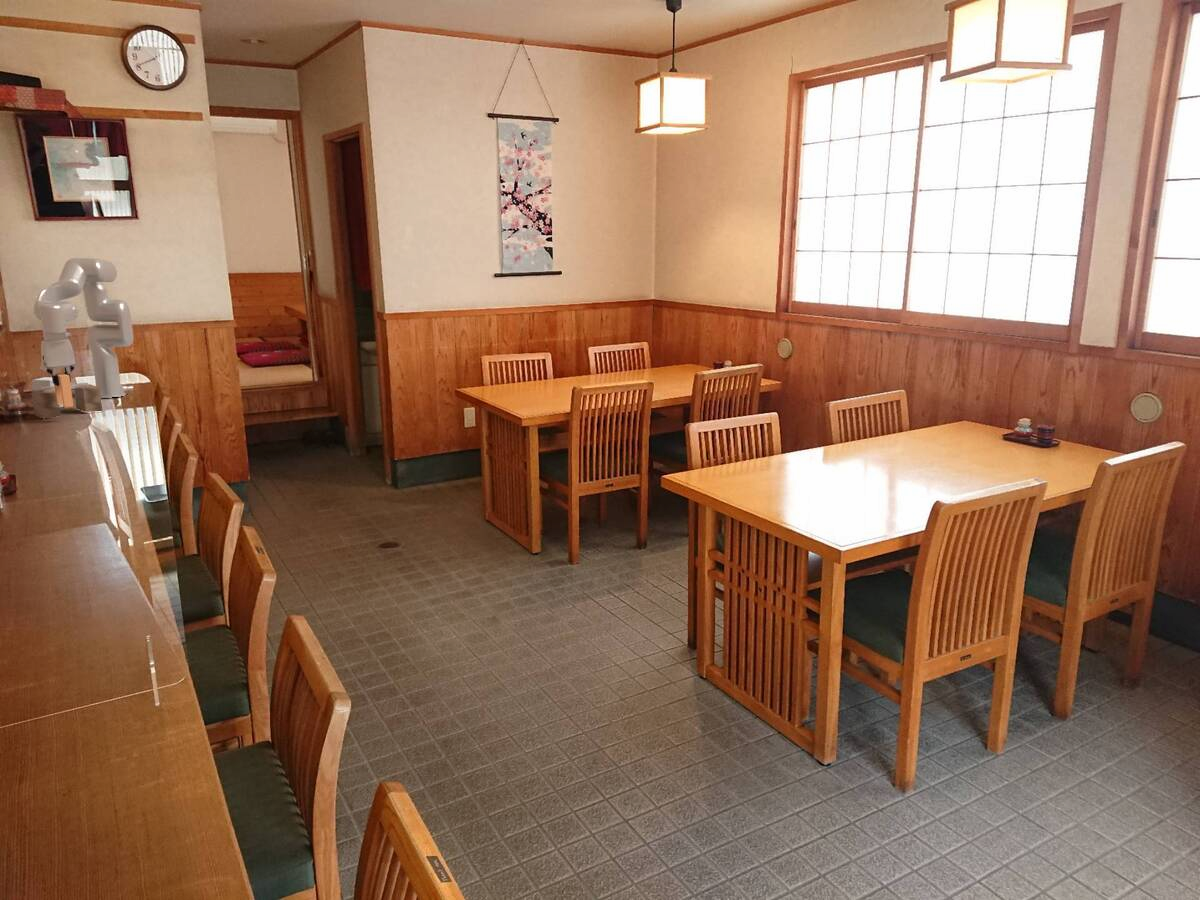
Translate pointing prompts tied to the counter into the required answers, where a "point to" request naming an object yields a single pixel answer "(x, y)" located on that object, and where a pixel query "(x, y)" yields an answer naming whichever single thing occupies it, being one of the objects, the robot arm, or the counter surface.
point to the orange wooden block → (63, 390)
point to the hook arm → (79, 385)
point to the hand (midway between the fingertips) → (62, 384)
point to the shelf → (49, 408)
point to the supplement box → (43, 384)
